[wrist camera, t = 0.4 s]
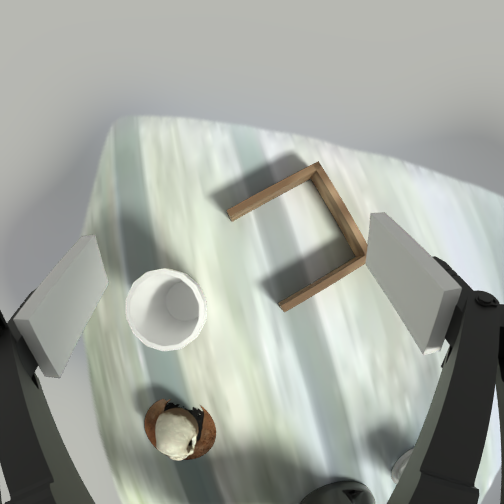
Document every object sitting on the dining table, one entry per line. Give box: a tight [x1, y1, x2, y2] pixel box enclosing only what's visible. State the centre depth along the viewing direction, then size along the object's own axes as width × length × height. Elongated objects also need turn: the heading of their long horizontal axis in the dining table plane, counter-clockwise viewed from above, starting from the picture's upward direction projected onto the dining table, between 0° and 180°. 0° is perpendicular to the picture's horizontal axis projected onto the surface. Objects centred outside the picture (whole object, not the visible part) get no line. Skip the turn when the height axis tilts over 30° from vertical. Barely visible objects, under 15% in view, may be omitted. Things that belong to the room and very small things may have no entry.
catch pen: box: [227, 161, 368, 312], centre depth 47 cm, size 16×15×4 cm
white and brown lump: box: [145, 399, 216, 461], centre depth 45 cm, size 12×10×10 cm
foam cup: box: [126, 268, 207, 351], centre depth 42 cm, size 10×9×13 cm
